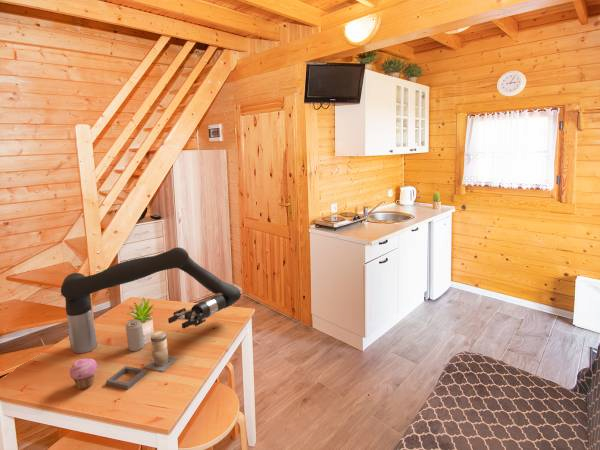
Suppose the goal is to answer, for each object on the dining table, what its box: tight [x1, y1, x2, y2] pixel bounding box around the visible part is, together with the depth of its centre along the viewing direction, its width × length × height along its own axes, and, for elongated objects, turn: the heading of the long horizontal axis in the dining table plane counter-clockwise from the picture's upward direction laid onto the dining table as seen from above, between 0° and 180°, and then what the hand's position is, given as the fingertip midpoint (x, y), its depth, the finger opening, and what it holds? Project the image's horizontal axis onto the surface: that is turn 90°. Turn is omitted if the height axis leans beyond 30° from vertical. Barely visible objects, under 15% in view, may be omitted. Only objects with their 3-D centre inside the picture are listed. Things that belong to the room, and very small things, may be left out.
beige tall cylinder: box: [150, 331, 169, 367], centre depth 146 cm, size 6×6×12 cm
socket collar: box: [105, 365, 147, 390], centre depth 137 cm, size 10×10×2 cm
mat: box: [143, 355, 178, 373], centre depth 147 cm, size 9×9×1 cm
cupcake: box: [69, 358, 98, 390], centre depth 134 cm, size 9×9×10 cm
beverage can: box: [125, 319, 145, 352], centre depth 158 cm, size 6×6×12 cm
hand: (175, 323), depth 151 cm, fingers open, 8 cm apart
